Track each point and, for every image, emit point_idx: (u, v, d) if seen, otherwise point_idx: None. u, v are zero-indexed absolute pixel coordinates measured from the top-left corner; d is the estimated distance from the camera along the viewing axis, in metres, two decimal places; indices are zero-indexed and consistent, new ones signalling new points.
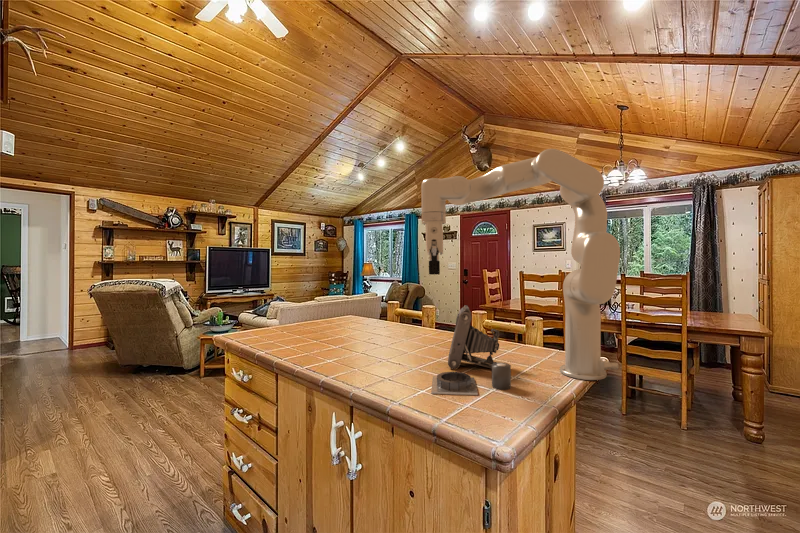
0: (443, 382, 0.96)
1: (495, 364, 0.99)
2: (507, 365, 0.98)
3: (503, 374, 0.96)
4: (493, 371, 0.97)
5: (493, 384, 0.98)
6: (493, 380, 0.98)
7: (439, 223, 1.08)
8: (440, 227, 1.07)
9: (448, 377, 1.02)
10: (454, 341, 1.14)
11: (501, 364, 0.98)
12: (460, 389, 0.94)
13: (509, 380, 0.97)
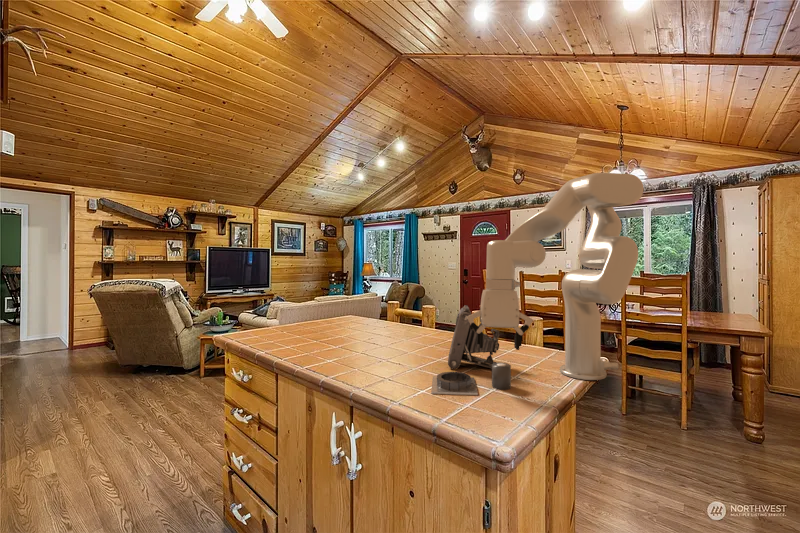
0: (443, 382, 0.96)
1: (495, 364, 0.99)
2: (507, 365, 0.98)
3: (503, 374, 0.96)
4: (493, 371, 0.97)
5: (493, 384, 0.98)
6: (493, 380, 0.98)
7: None
8: None
9: (448, 377, 1.02)
10: (454, 341, 1.14)
11: (501, 364, 0.98)
12: (460, 389, 0.94)
13: (509, 380, 0.97)
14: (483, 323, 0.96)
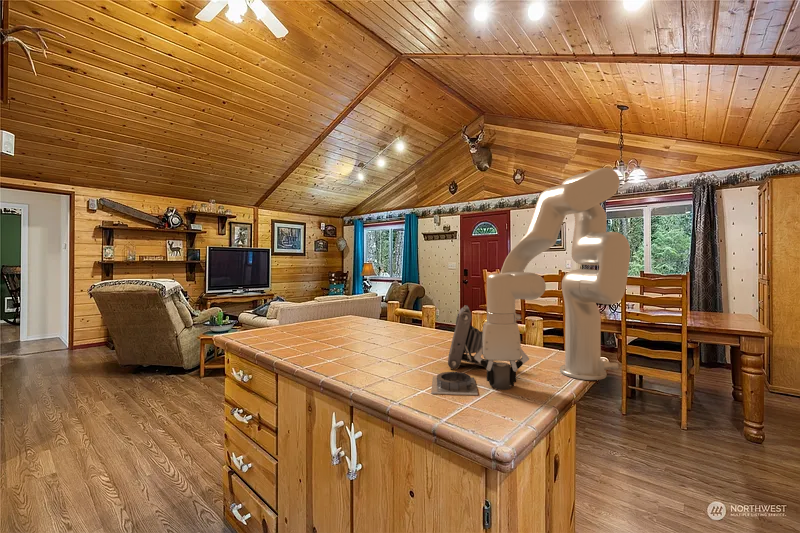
0: (443, 382, 0.96)
1: (495, 364, 0.99)
2: (507, 365, 0.98)
3: (503, 374, 0.96)
4: (493, 371, 0.97)
5: (493, 384, 0.98)
6: (493, 380, 0.98)
7: None
8: None
9: (448, 377, 1.02)
10: (454, 341, 1.14)
11: (501, 364, 0.98)
12: (460, 389, 0.94)
13: (509, 380, 0.97)
14: (485, 357, 0.97)
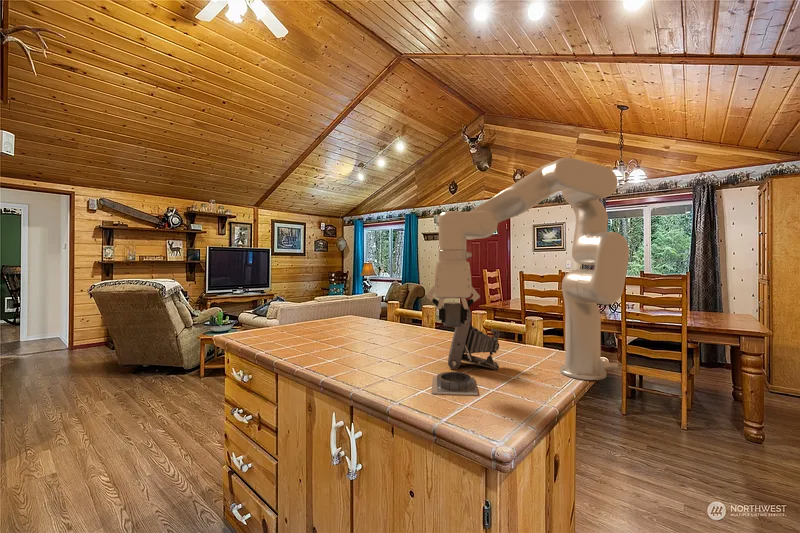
0: (443, 382, 0.96)
1: (447, 303, 0.99)
2: (458, 303, 0.98)
3: (454, 311, 0.96)
4: (444, 309, 0.98)
5: (444, 322, 0.98)
6: (444, 318, 0.98)
7: None
8: None
9: (448, 377, 1.02)
10: (454, 341, 1.14)
11: (453, 302, 0.98)
12: (460, 389, 0.94)
13: (460, 317, 0.97)
14: (436, 294, 0.97)
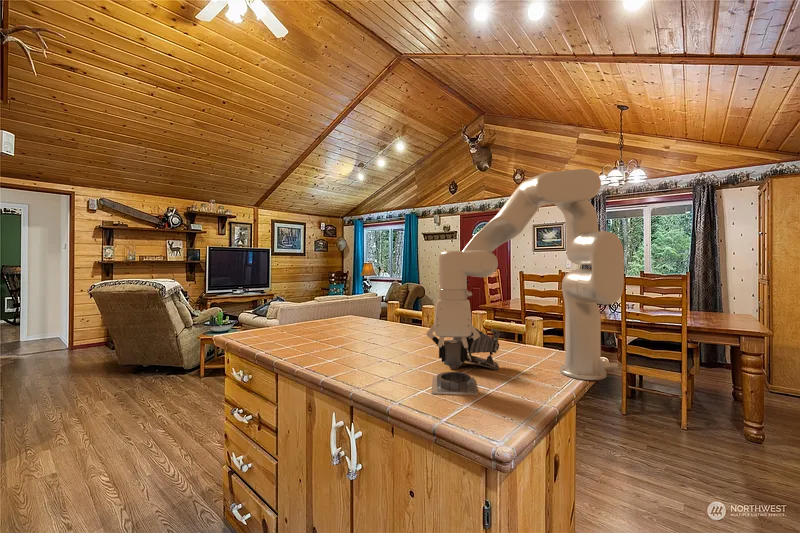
0: (443, 382, 0.96)
1: (447, 341, 0.99)
2: (458, 342, 0.98)
3: (454, 350, 0.96)
4: (444, 347, 0.98)
5: (444, 360, 0.98)
6: (444, 356, 0.98)
7: None
8: None
9: (448, 377, 1.02)
10: None
11: (453, 341, 0.99)
12: (460, 389, 0.94)
13: (460, 356, 0.97)
14: (436, 333, 0.97)
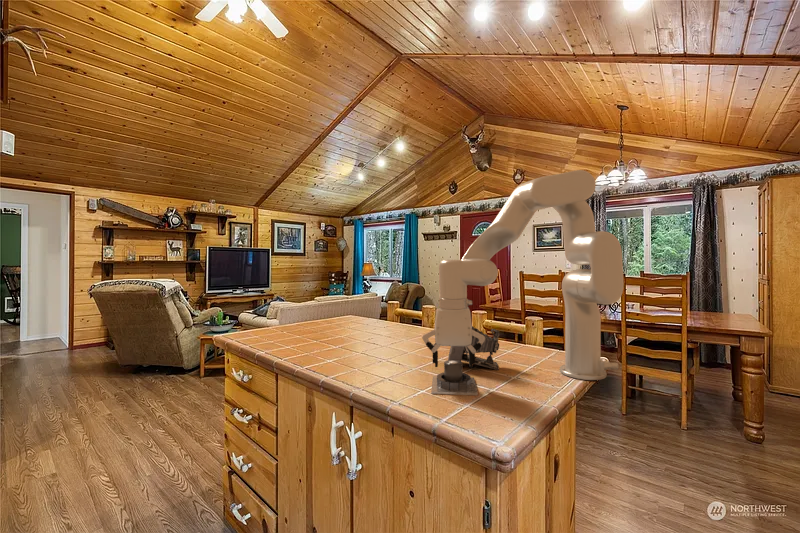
0: (443, 382, 0.96)
1: (447, 362, 0.99)
2: (459, 362, 0.98)
3: (454, 372, 0.96)
4: (445, 369, 0.98)
5: None
6: (445, 378, 0.98)
7: None
8: None
9: None
10: None
11: (453, 362, 0.99)
12: (460, 389, 0.94)
13: (460, 377, 0.97)
14: (437, 342, 0.97)
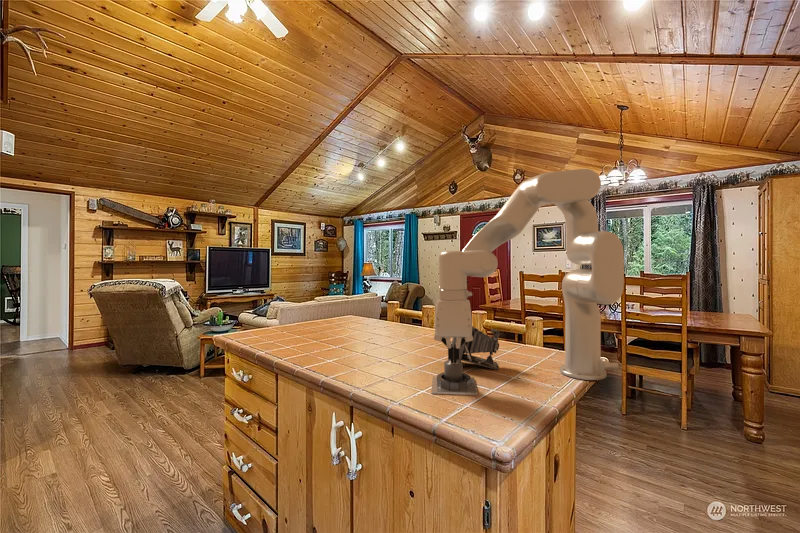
0: (443, 382, 0.96)
1: (448, 362, 0.99)
2: (459, 363, 0.98)
3: (454, 372, 0.96)
4: (445, 369, 0.98)
5: None
6: (445, 378, 0.98)
7: None
8: None
9: None
10: (454, 341, 1.14)
11: (453, 362, 0.99)
12: (460, 389, 0.94)
13: (460, 377, 0.97)
14: (437, 333, 0.97)
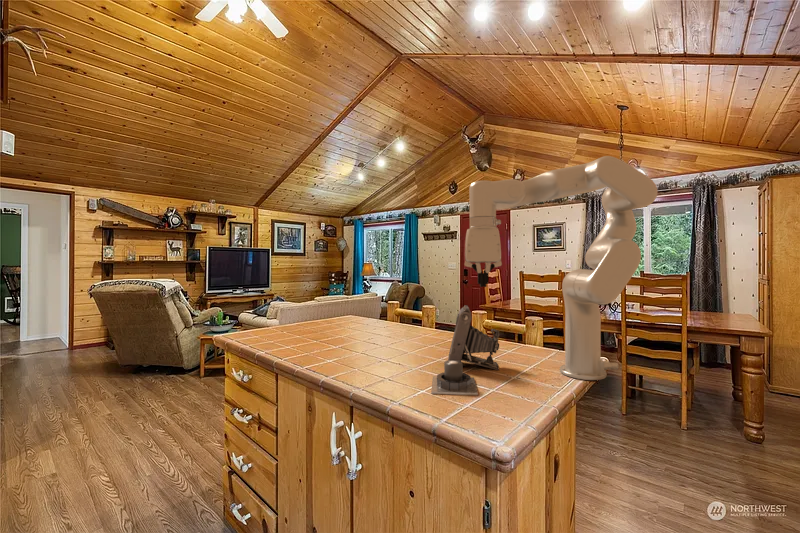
0: (443, 382, 0.96)
1: (448, 362, 0.99)
2: (459, 363, 0.98)
3: (454, 372, 0.96)
4: (445, 369, 0.98)
5: None
6: (445, 378, 0.98)
7: None
8: None
9: None
10: (454, 341, 1.14)
11: (453, 362, 0.99)
12: (460, 389, 0.94)
13: (460, 377, 0.97)
14: (468, 259, 1.04)
